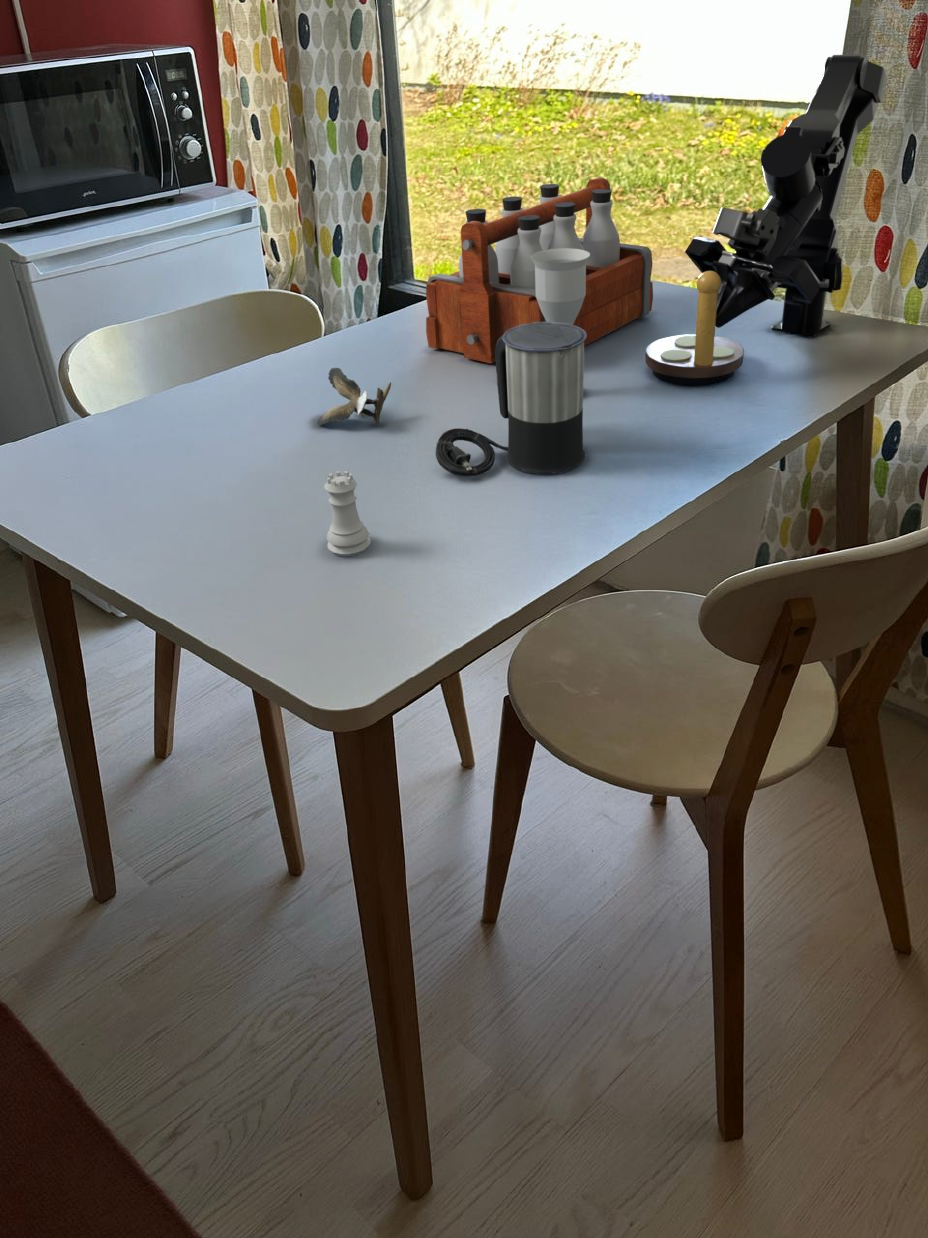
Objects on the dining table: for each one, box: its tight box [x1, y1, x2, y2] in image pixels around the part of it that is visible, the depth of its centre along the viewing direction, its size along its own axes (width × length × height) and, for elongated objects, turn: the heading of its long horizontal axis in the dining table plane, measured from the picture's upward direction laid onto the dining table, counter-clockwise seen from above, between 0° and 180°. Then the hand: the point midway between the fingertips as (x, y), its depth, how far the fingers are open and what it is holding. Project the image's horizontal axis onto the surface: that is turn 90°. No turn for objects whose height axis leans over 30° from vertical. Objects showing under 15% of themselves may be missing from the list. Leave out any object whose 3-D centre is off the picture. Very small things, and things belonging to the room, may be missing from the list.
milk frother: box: [435, 322, 587, 477], centre depth 116 cm, size 14×16×15 cm
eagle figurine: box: [316, 367, 392, 427], centre depth 132 cm, size 8×7×9 cm
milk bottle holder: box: [425, 177, 654, 364], centre depth 153 cm, size 21×35×19 cm, turn 141°
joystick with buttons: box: [644, 271, 745, 378], centre depth 137 cm, size 13×13×13 cm
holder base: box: [651, 369, 735, 387], centre depth 141 cm, size 11×11×1 cm
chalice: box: [531, 248, 590, 325], centre depth 132 cm, size 7×7×18 cm
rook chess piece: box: [324, 470, 372, 558], centre depth 104 cm, size 4×4×8 cm
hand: (713, 325), depth 133 cm, fingers closed, pressing on joystick with buttons
